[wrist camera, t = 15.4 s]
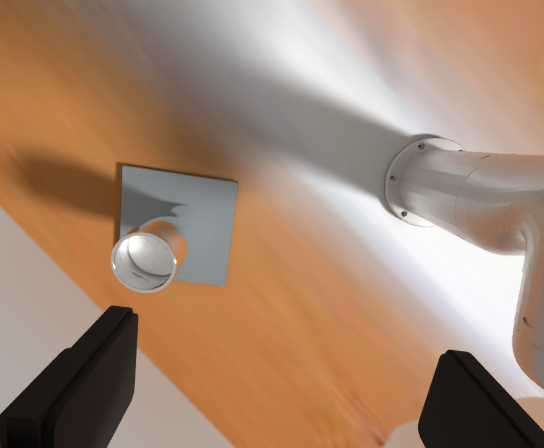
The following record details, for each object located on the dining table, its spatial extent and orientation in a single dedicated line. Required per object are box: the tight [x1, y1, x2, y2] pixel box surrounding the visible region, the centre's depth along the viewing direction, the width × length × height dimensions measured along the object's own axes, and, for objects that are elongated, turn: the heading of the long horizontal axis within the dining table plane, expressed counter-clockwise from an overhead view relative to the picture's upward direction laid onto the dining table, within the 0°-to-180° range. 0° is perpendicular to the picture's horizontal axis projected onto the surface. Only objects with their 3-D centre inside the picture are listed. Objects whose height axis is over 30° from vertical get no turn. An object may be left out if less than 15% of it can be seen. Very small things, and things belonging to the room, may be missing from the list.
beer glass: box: [111, 205, 203, 293], centre depth 40 cm, size 7×7×15 cm
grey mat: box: [120, 165, 238, 287], centre depth 48 cm, size 16×16×1 cm
